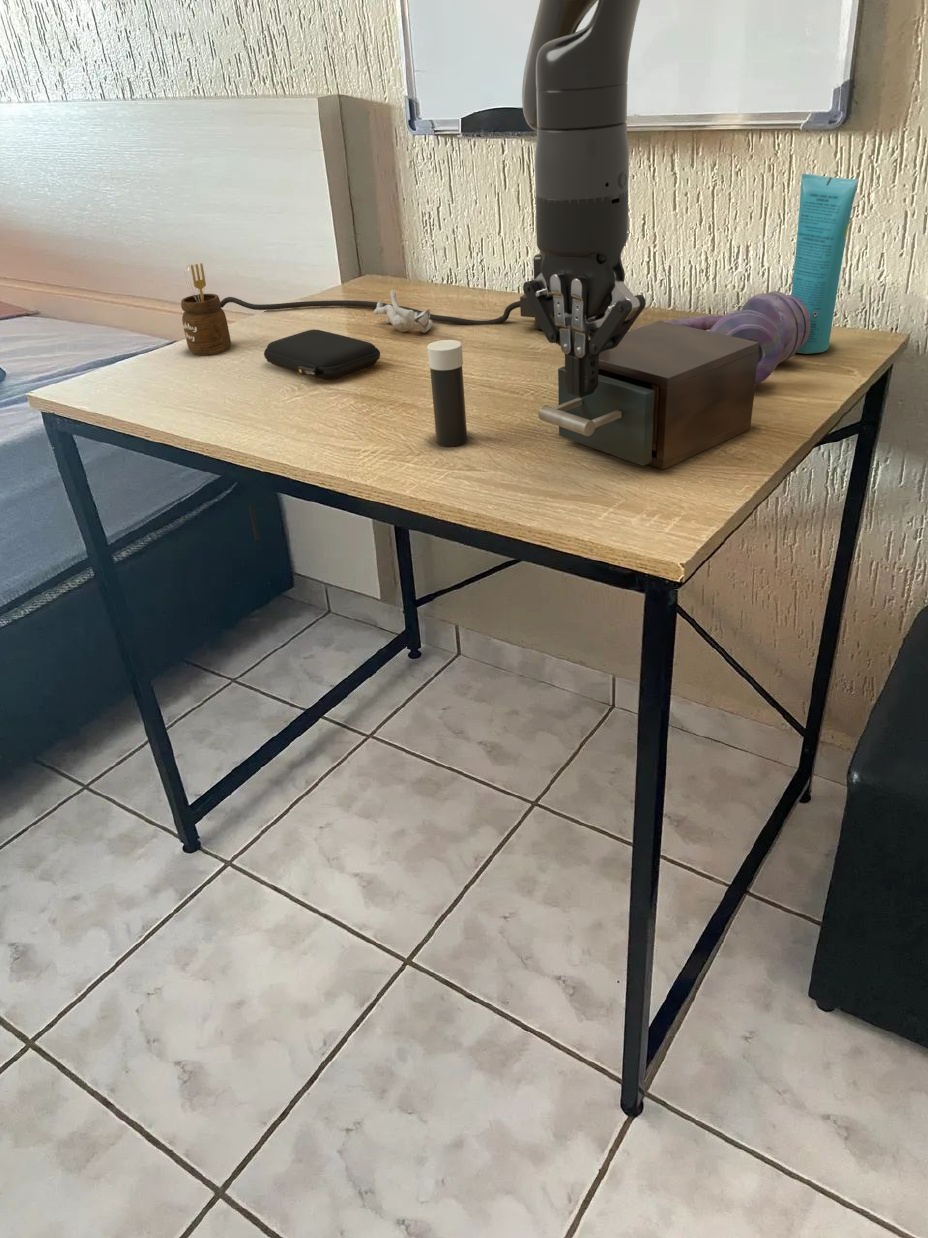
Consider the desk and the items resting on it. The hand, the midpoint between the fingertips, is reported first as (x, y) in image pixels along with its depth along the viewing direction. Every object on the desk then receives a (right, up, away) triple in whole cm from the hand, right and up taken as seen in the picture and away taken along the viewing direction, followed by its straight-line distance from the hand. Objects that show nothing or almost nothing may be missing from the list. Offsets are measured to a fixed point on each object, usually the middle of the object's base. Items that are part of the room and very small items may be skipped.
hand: (581, 393), depth 86 cm
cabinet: (+9, -2, +10) cm, 14 cm away
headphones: (+18, +9, +25) cm, 32 cm away
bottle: (-12, -2, +12) cm, 17 cm away
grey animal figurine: (-19, +20, +47) cm, 54 cm away
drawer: (+5, -3, +7) cm, 9 cm away
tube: (+31, +12, +29) cm, 44 cm away
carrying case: (-29, +12, +36) cm, 48 cm away
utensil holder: (-46, +17, +46) cm, 67 cm away
